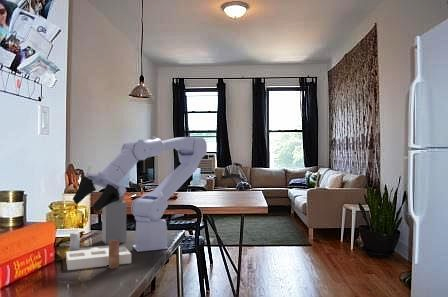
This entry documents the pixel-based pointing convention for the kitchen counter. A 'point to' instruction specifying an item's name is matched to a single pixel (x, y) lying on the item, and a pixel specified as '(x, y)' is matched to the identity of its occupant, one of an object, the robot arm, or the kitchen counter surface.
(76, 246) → the studded grey block
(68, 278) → the kitchen counter surface
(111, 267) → the terracotta pin
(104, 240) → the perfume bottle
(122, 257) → the peg board
